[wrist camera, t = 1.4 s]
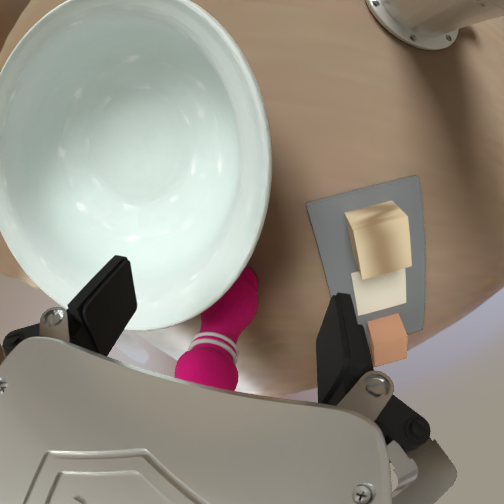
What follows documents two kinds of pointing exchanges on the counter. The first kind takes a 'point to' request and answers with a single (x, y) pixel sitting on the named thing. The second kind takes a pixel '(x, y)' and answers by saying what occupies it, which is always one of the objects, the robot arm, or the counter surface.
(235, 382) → the pepper mill
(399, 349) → the terracotta cube
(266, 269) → the counter surface
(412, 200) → the board
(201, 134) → the bowl
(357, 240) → the maple block
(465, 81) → the counter surface
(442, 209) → the counter surface
